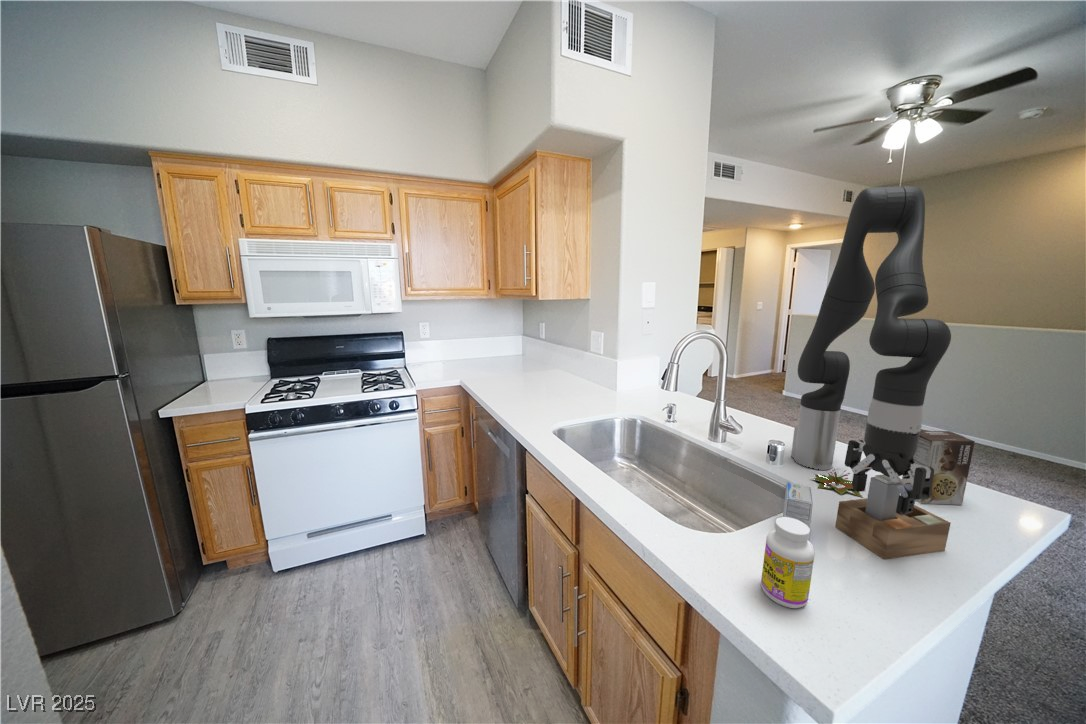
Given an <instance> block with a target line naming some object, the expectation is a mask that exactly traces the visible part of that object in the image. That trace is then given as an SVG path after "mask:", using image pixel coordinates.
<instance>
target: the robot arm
mask: <svg viewBox="0 0 1086 724" xmlns="http://www.w3.org/2000/svg"><path fill="white" fill-rule="evenodd" d="M925 218H926V200H925V195H924V193H923V190H922V189H921V188H920V187H918V186H915V185H914V186H913V185H901V186H899V185H898V186H897V185H896V186H877V187H875V186H874V187H868V188H864V189H862V190H861V191H860V192H859V193H858V195H857V196H856V197H855V200H854V202H853V204H852V206H851V210H850V213H849V216H848V220H847V224H846V227H845V232H844V235H843V238H842V243H841V246H840V251H839V254H838V257H837V261H836V264H835V266H834V269H833V271H832V275H831V276H830V277H831V278H830V279H829V283H828V284H827V288H826V290H825V293H824V295H823V298H822V302H821V305H820V308H819V311H818V313H817V314H818V315H817V317H816V321H815V323H814V326H813V329H812V331H811V334H810V336H809V338H808V339H807V342H806V344H805V346H804V348H803V351H802V353H801V355H800V358H799V360H798V365H797V376H798V379H799V380H800V381H802V382H804V383H809V384H819V385H820V384H823V385H822V387H820V388H818V389H816V390H813V391H809V392H805V393H803V394H801V398H800V404H799V405H800V406H799V412H798V423H797V426H795V427H794V429H793V439H792V445H791V454H790V457H791V456H792V457H793V458H794V459H793V458H792V457H791V458H792V459H793V460H795V461H796V462H795V461H794V462H795V463H797V464H798V463H799V464H798V465H800V464H802V465H804V466H803V467H805V466H806V467H805V468H808V467H810V468H809V469H812V468H814V469H813V470H818V469H819V470H820V471H827V470H832V468H833V463H834V458H835V457H834V455H835V451H836V444H837V437H838V430H839V429H838V428H839V422H840V415H841V408H842V404H843V401H844V399H845V395H846V394H845V393H846V388H847V384H848V380H849V377H850V371H851V370H850V369H851V367H850V366H851V363H850V362H851V361H850V359H849V357H848V355H847V353H846V352H844V351H838V350H837V351H836V350H828V347H830V345H831V344H832V343H833V342H834V341H835V340H836V339H837V338H839V336H841V335H842V334H844V333H846V332H847V331H848V330H849V329H851V328H852V327H853V326H855V325H856V324H857V323H858V322H860V321H861V320H862V318H863V317H864V316H865V315H866V313H867V311H868V309H869V307H870V305H871V302H872V299H873V297H874V295H875V294H876V302H877V306H876V307H877V308H876V312H875V313H876V314H875V319H874V322H873V326H872V328H871V331H870V335H869V339H868V341H869V342H868V343H869V345H870V348H871V349H872V351H874V352H875V353H876V354H877V355H879V356H883V357H897V358H898V357H899V358H911V359H910V360H909V361H908V362H907V363H906V364H904V365H901V366H898V367H897V366H896V367H889V368H884V369H880V370H878V372H877V373H876V376H875V381H874V386H873V387H874V388H873V393H872V397H871V398H872V399H871V402H870V404H869V408H868V412H867V420H866V424H865V425H866V426H865V432H864V437H863V439H851V440H848V444H847V448H846V454H845V458H844V459H845V460H844V466H845V467H848V468H850V469H851V470H852V473H853V475H852V480H851V481H852V486H853V490H855V491H857V492H859V493H860V492H865V491H866V486H867V481H868V474H867V473H868V472H869V471H870V472H871V470H872V471H874V472H878V473H881V475H885V476H887V477H890V478H891V480H892V482H893V484H895V485H896V486H897V488H898V490H899V492H900V495H899V498H898V503H897V508H896V513H898V514H900V515H907V514H909V513H912V512H913V506H914V505H915V502H916V500H919V499H928V498H930V497H931V490H932V483H933V476H934V469H933V468H932V467H930V466H928V467H924V466H921V465H918V464H915V462H914V459H913V456H914V454H915V453H916V451H917V447H918V441H919V436H920V431H922V430H921V429H922V426H923V425H922V424H923V419H924V404H925V403H924V402H925V398H926V394H927V387H928V383H929V382H930V379H931V377H932V375H933V374H934V372H935V370H936V368H937V366H938V365H939V363H940V362H941V360H943V359H942V358H943V356H944V355H945V354H946V352H947V351H948V349H949V347H950V344H951V340H952V332H951V329H950V328H949V325H948V324H947V323H945V322H944V321H943V320H942V319H937V318H902V317H908V316H911V315H915V314H917V313H919V312H922V311H924V310H925V309H926V308H927V306H928V304H929V293H928V288H927V283H926V277H925V271H924V264H923V252H924V239H925ZM880 233H882V234H884V233H886V234H887V233H888V234H891V233H893V234H894V233H895V234H896V235H897V243H896V245H895V246H894V248H892V250H891V251H890V252H889V254H888V255H887V256H886V258H884V260H883V261H882V262H881V263H880V265H879V266H878V268H877V270H876V274H875V279H874V277H873V276H872V273H871V271H870V269H869V266H868V264H867V262H866V258H865V255H864V243H865V240H866V237H867V235H868V234H880ZM875 292H876V293H875ZM863 454H864V456H865V457H864V458H863V459H862V455H863ZM802 465H801V466H802ZM911 469H912V471H913V473H912V475H913V476H914V479H913V477H912V475H911V473H910V470H911ZM902 476H903V477H904V479H902V478H901V477H902ZM905 485H906V486H905ZM906 487H907V488H906ZM907 489H908V490H907ZM864 490H865V491H864ZM915 499H916V500H915Z"/></svg>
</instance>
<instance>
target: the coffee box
mask: <svg viewBox="0 0 1086 724" xmlns="http://www.w3.org/2000/svg"><path fill="white" fill-rule="evenodd" d="M975 442H976V441H975V440H972V439H970V438H967V437H966V436H964V435H962V434H958V433H955V432H953V431H950V430H921V431H920V436H919V441H918V447H917V451H916V453H915V454H914V456H913V459H914V462H915V464H918V465H921V466H924V467H928V466H930V467H932V468H933V469H934V476H933V483H932V490H931V497H930V498H928V499H919V500H916V499H915V502H917V503H919V504H922V505H924V504H925V505H956V506H957V505H958V506H959V505H960V506H962V505H963V503H964V497H965V492H966V489H967V487H966V486H967V483H968V482H967V481H968V477H969V472H970V467H971V462H972V456H973V451H974V447H975ZM910 473H911V475H912V473H913V471H912V469H911V470H910ZM912 477H913V479H914V476H913V475H912ZM901 479H904V477H903V475H901ZM905 486H906V485H905ZM906 488H907V487H906ZM907 490H908V489H907Z"/></svg>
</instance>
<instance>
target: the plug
mask: <svg viewBox="0 0 1086 724" xmlns="http://www.w3.org/2000/svg"><path fill="white" fill-rule="evenodd" d="M899 495H901V494H900V492H899V490H898V488H897V486H896V485H895V484H893V482H892V480H891V478H890V477H887V476H885V475H884V474H877V475H875V476H873V477H870V481H869V486H868V492H867V497H866V498H867V504H866V510H865V513H866V514H868V515H870V516H871V517H873V518H875V519H877V520H878V521H883V520H890V519H895V517H896V508H897V503H898V498H899Z"/></svg>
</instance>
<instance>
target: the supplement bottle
mask: <svg viewBox="0 0 1086 724" xmlns="http://www.w3.org/2000/svg"><path fill="white" fill-rule="evenodd" d="M810 537H811V528H810V529H809V527H808V526H807V525H806V524H805V523H803V522H801V521H799V520H797V519H794V518H790V517H783V516H779V517H777V518H776V519H775V521H774V529H773V530H771V531H770V532H768V533H767V535H766V538H765V539H766V540H765V548H764V555H763V564H762V572H761V580H760V585H761V589H762V591H763V593H765V595H766V596H767V597H768V598H770V600H771V601H773V602H775V603H777V604H778V605H781V606H783V607H786V608H790V609H791V608H792V609H800V608H803V607H804V606H806V605H807V603H808V601H809V596H810V591H811V590H810V587H811V582H812V574H813V568H814V561H815V557H816V556H815V555H816V550H815V547H814V546H813V544H812V542H811V541H810V540H808V539H810Z"/></svg>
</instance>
